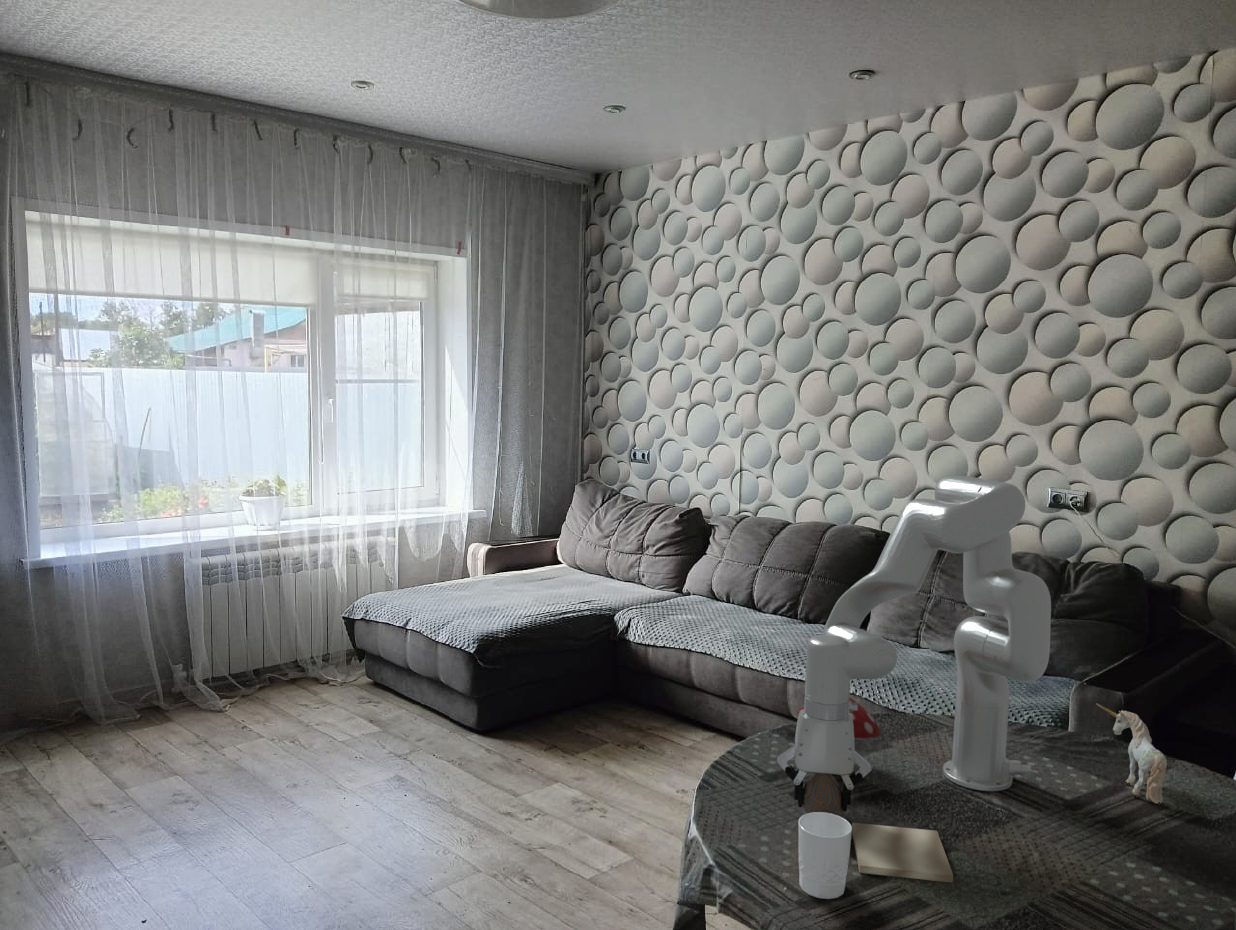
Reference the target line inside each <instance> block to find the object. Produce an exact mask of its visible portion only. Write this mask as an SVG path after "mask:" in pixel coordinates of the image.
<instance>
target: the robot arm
mask: <svg viewBox="0 0 1236 930" xmlns="http://www.w3.org/2000/svg"><path fill="white" fill-rule="evenodd" d="M1025 511H1026V499H1025V496H1024V494H1023V491H1021V490H1020V489H1019V488H1018V487H1017V486H1016V485H1014V484H1013V483H1010V482H1009V483H1008V482H1003V481H998V480H992V479H984V478H980V477H973V476H965V475H949V476H943V477H942V478H941V479H940V480H939V481H937V483H936V485H935V488H934V499H932V498H931V499H930V498H915V499H912V500H910V501H908V502H907V503H905V505H904V506H903V508H902V510H901V511H900V513H899V515H898V518H897V520H896V522H895V524H894V526H893V528H892V530H891V532H890V535H889V537H888V539H887V540H886V543H885V545H884V547H883V550H882V551H881V554H880V556H879V558H878V560H877V563H876V564H875V566H874V568H873V569H872V571H871V572H869V573H868V574H866V575H865V576H863V577H862V578H861V579H859V580H858V581H856V582H855V583H854V584H853V585H852V586H851V587H850V588H848V589H847V590H845V592H844V593H843V594H841V596H840V597H839V598H838V599H837V601H836V602H835V604H834V606H833V608H832V610H831V612H830V614H829V616H828V619H826V623H825V624H824V625H825V626H824V628H823V631H822V634H818V635H814V636H811V637H810V638H809V640H808V642H807V645H806V646H807V647H806V662H805V663H806V664H805V665H806V666H805V683H804V705H803V706H804V709H802V710H800V713H799V715H798V716H797V722H796V729H795V736H794V745H792V746H791V747H789V748H788V749H786V750H785V751H784V752H782V753H781V754H779V755H778V756H777V758H776V759H777V760H776V761H777V764H778V765H779V767H780V768H781V769H782V770H783V771H784V773H785V774H786V775H787V776H788V777H789V778H790V780H791V781H792V782H793V784H794V787H793V789H794V790H793V791H794V792H793V800H794V801H797V807H798V808H803V788H804V780H803V779H804V778H805V776H806V775H807V773H813V774H814V773H823V774H832V775H837V776H838V775H839V776H841V778H842V783H841V792H842V808H841V811H843V812H847V811H848V805H849V806H851V805H852V790H854V787H855V786H857V785H858V784H859V783H860V782H861V781H862V780H863V779H864V778H865V777H866V776H867V775H868V774H869V773H870V772H872V767H871V764H870V763H869V762H868V761H867V760H866V759H865V758H864V757H863V756H862V755H861V754H859V753H858V751H856V750H855V749H856V748H855V747H856V746H855V745H856V743H855V740H854V725H853V718H852V715H851V714H850V713H851V711H852V712H853V711H857V710H858V704H859V703H858V702H857V703H858V704H857V703H853V702H851V701H850V700H849V697H850V688H851V681H852V680H853V679H854V680H878V679H883V678H885V677H886V676H888V675H889V674H891V673H892V672H893V670H894V669H895V667H896V665H897V662H898V653H897V651H896V648H895V647H894V645H893V644H892V643H891V642H890V641H889V640H887V639H886V638H884V637H882V636H879V635H877V634H874V633H872V632H869V631H867V630H864V629H862V628H861V625H862V623H863V621H864V620H865V618H866V617H867V615H869V614H870V612H871V611H872V610H874V609H875V608H876V607H878V606H879V605H881V604H883V603H886V602H888V601H892V600H896V599H899V598H904V597H908V596H911V595H914V594H916V593H918V592H919V591H920V589H921V588H922V586H923V583H924V581H925V579H926V577H927V575H928V572H929V570H930V568H931V566H932V563H933V561H934V559H935V557H936V555H937V553H938V551H939V550H940V551H944V552H947V553H948V552H949V553H952V554H963V561H962V563H963V564H962V565H963V566H962V567H963V568H962V569H963V570H962V571H963V572H962V575H963V577H962V578H963V580H962V585H963V598H964V601H965V603H966V605H967V606H969V607H970V608H972V609H973V610H975V611H977V612H980V613H983V614H986V615H989V616H993V617H996V618H1000V619H1003V620H1005V621H1007V622H1004V621H1002V620H998V619H995V618H990V617H988V616H979V615H976V616H975V615H974V616H970V617H967V618H965V619H963V620H962V621H961V622H960V623H959V624H958V626H957V628H956V630H955V633H954V636H953V647H954V655H955V663H956V696H955V707H954V722H953V723H954V725H953V736H952V737H953V738H952V739H953V740H952V753H951V754H952V755H951V756H952V757H951V760H948V761H946V762H945V763H943V765H942V773H943V775H944V776H945V777H946V778H947V780H949V781H950V782H952V783H954V784H956V785H958V786H961V787H964V788H968V789H970V790H975V791H981V792H1000V791H1004V790H1007V789H1009V788H1011V786H1012V784H1013V776H1014V775H1015V774H1016V775H1021V776H1031V775H1032V766H1031V765H1029V764H1022V763H1021V760H1016V759H1015V760H1011V759H1009V758H1007V757H1006V751H1007V737H1008V724H1009V708H1010V697H1011V696H1010V687H1009V686H1010V685H1009V683H1008V680H1007V678H1008V679H1011V680H1013V681H1016V682H1020V683H1032V682H1036V681H1038V680H1039V679H1040V678H1042V676H1043V675H1044V673H1045V672H1046V669H1047V667H1048V664H1049V660H1050V652H1051V650H1050V649H1051V625H1052V624H1051V621H1052V619H1051V618H1052V617H1051V616H1052V600H1051V594H1050V591H1049V587H1048V586H1047V583H1046V582H1045V581H1044V580H1043V579H1042V578H1041V577H1040V576H1038V575H1037V574H1034V573H1033V572H1029V571H1025V570H1022V569H1017V568H1015V567H1014V565H1013V553H1012V552H1013V551H1012V538H1011V533H1010V530H1012V529H1013V528H1015V527H1016V526H1017V525H1018V524H1019V523H1020V521H1021V520H1022V518H1023V516H1024V515H1025V514H1024V513H1025ZM792 758H794V766H795V768H796V769H795V768H794V767H793V765H791V764H790V763H789V762H788V761H790V760H791V759H792ZM855 764H857V765H858V766H859V769H858V770H855V771H854V769H855Z"/></svg>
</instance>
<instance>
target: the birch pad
mask: <svg viewBox="0 0 1236 930" xmlns="http://www.w3.org/2000/svg"><path fill="white" fill-rule="evenodd" d="M851 826H852V833H851V835H852V840H853V844H854V850H855V855H856V860H857V866H858V871H859V873H860V874H867V875H868V874H870V875H878V876H886V877H896V878H906V879H916V880H925V881H935V882H945V883H953V882H954V874H953V871H952V868H951V865H950V862H949V860H948V858H947V855H946V852H945V849H944V845H943V843H942V841H941V837H940V835H939V832H938V831H937V830H933V829H921V828H910V827H901V826H892V825H880V824H871V823H861V822H851Z"/></svg>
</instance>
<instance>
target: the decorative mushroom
mask: <svg viewBox="0 0 1236 930" xmlns="http://www.w3.org/2000/svg"><path fill="white" fill-rule="evenodd" d="M849 700H850V701H851V702H853V703H857V704H858V710H857V711H853V712H852V711H851V713H850V714H851V715H852V718H853V725H854V741H856V740H859V741H860V740H861V741H862V740H863V741H866V740H872V739H876V738H878V737H879V736H880V735H881V733H880V729H879V727H878V724H877V722H876V721H875V719H874V718H873V717H872V716H871V714H870V713H869V712H868V711H867V710H866V709H865V708H864V707H863V706H862V705H861V704H859V703H858V702H857V701H856V700H854V699H853V698H851V697H850V696H849ZM802 709H804V705H803V706H801V707H800V708H799V709H798V711H797V712H796V713H797V715H798V716H799V713H800V710H802Z"/></svg>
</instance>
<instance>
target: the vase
mask: <svg viewBox="0 0 1236 930" xmlns="http://www.w3.org/2000/svg"><path fill="white" fill-rule="evenodd" d="M802 808H803V811H804V812H805V814H808V813H813V812H824V813H830V814H834V815H837V816H840V815H839V814H840V813H841V811H842V788H841V786H840V785H839V783H838V781H837V780H836V778H835V777H834V776H833V774H823V773H813V774H812V775H810V776H809V778H808V779H807V780H806V782H805V784H803V805H802Z"/></svg>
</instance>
